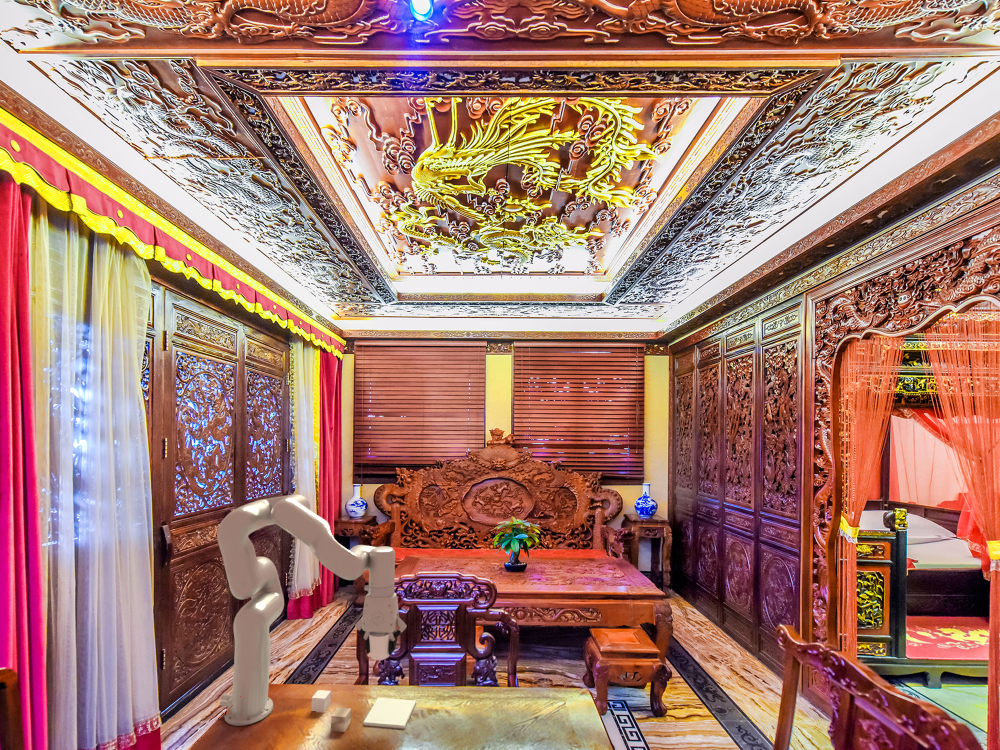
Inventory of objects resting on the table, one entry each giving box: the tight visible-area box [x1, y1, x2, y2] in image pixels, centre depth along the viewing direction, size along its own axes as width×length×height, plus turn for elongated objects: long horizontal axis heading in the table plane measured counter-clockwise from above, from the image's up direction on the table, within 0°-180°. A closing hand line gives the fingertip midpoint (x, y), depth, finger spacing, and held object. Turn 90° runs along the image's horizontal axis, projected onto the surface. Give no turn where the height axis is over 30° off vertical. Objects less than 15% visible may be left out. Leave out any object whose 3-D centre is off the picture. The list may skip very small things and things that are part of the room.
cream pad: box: [362, 697, 417, 730], centre depth 141 cm, size 12×12×1 cm
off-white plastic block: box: [310, 689, 332, 714], centre depth 143 cm, size 4×4×4 cm
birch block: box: [330, 706, 352, 733], centre depth 135 cm, size 4×4×4 cm
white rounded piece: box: [369, 632, 390, 661], centre depth 143 cm, size 7×7×7 cm
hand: (380, 651), depth 143 cm, fingers closed on white rounded piece, 6 cm apart
